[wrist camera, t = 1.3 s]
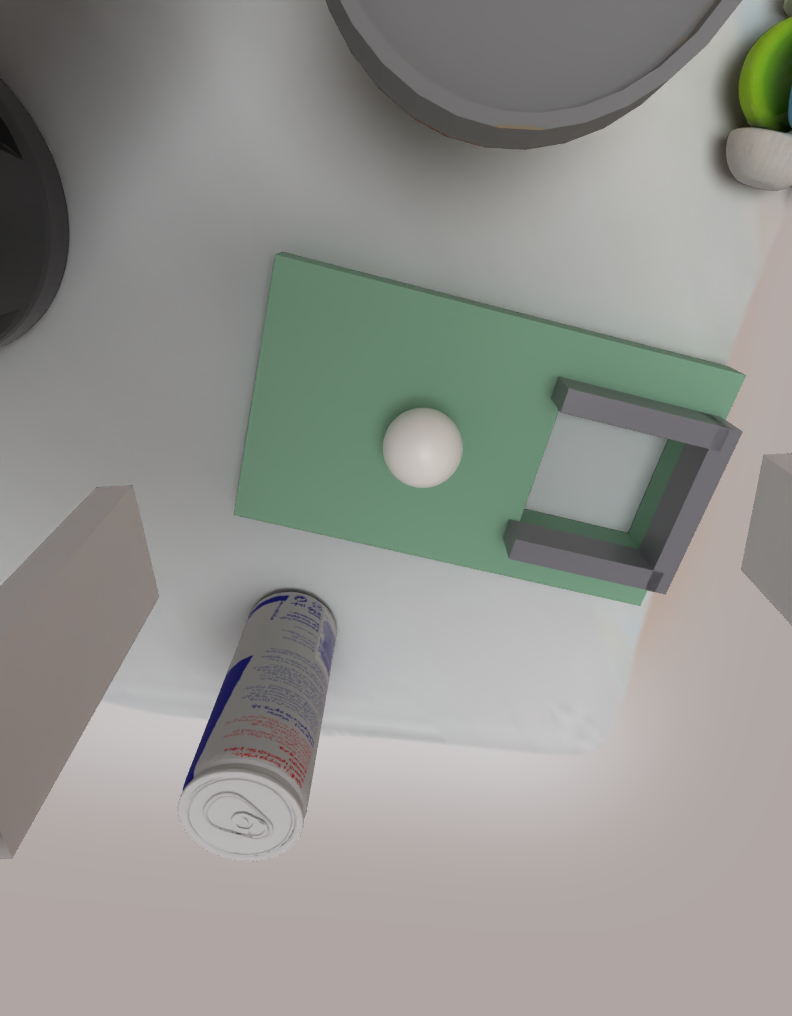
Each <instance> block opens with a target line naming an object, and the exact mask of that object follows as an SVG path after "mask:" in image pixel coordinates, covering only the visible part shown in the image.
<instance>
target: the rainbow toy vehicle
mask: <svg viewBox="0 0 792 1016" xmlns="http://www.w3.org/2000/svg"><path fill="white" fill-rule="evenodd" d="M783 7H784V10H785V13H786V14H787V15H788V16H789V18H787V19H785V20H783V21H780V22H779V23H777V24H776V25H774V26H773V27H771V28H770V29H769V30H768V31H767V32H765V33H764V34H763V35H762V36H761V37H760V38H759V39H758V40H757V41H756V43H755V44H754V45H753V46H752V48H751V49H750V51H749V53H748V54H747V56H746V59H745V61H744V64H743V67H742V70H741V74H740V79H739V100H740V105H741V108H742V111H743V113H744V115H745V117H746V119H747V123H748V124H749V125H750V126H751V127H752V128H738V129H735V130H733V131H731V132H730V134H729V136H728V140H727V147H726V158H727V163H728V166H729V169H730V171H731V173H732V174H733V176H734V177H735V178H736V179H737V180H738V181H739V182H741V183H743V184H745V185H748V186H751V187H755V188H758V189H764V190H770V191H778V190H782V189H785V188H788V187H790V186H792V0H785V1H784V6H783Z"/></svg>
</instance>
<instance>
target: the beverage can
mask: <svg viewBox="0 0 792 1016" xmlns="http://www.w3.org/2000/svg"><path fill="white" fill-rule="evenodd" d="M336 633H337V631H336V624H335V621H334V618H333V616H332V614H331V613H330V611H329V610H328V609H327V608H326V607H325V606H324V605H323V604H322V603H321V602H319V601H318V600H316V599H315V598H313V597H311V596H308V595H306V594H302V593H297V592H280V593H275V594H272V595H269V596H267V597H265V598H264V599H262V600H261V601H259V602H258V603H257V604H256V605H255V606H254V608H253V609H252V611H251V613H250V615H249V617H248V621H247V623H246V626H245V628H244V631H243V633H242V636H241V639H240V641H239V644H238V646H237V649H236V651H235V654H234V657H233V659H232V662H231V664H230V667H229V670H228V672H227V675H226V677H225V680H224V682H223V685H222V688H221V690H220V693H219V695H218V698H217V700H216V703H215V706H214V708H213V711H212V713H211V716H210V718H209V721H208V724H207V726H206V729H205V731H204V734H203V736H202V739H201V742H200V744H199V747H198V749H197V752H196V754H195V757H194V760H193V762H192V765H191V767H190V770H189V772H188V775H187V778H186V781H185V784H184V787H183V792H182V794H181V796H180V799H179V803H178V816H179V820H180V822H181V824H182V826H183V828H184V830H185V831H186V833H187V834H188V835H189V837H190V838H191V839H193V841H195V842H196V843H197V844H198V845H200V846H201V847H203V848H204V849H206V850H207V851H209V852H212V853H214V854H216V855H218V856H221V857H225V858H229V859H233V860H239V861H259V860H266V859H271V858H273V857H276V856H278V855H281V854H283V853H284V852H286V851H288V850H289V849H290V848H291V847H293V845H294V844H295V843H296V842H297V841H298V839H299V837H300V835H301V833H302V829H303V824H304V817H305V815H306V812H307V806H308V800H309V794H310V788H311V782H312V776H313V771H314V765H315V759H316V753H317V747H318V741H319V735H320V729H321V724H322V718H323V712H324V706H325V700H326V694H327V688H328V682H329V676H330V670H331V664H332V659H333V653H334V647H335V641H336Z"/></svg>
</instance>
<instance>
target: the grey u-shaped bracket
mask: <svg viewBox="0 0 792 1016" xmlns="http://www.w3.org/2000/svg"><path fill="white" fill-rule="evenodd" d="M551 400H552V401H553V403H554V404H555V405H556V407H557V408H558V410H559V411H560V412H561V413H565V414H569V415H573V416H577V417H581V418H585V419H589V420H593V421H597V422H601V423H606V424H610V425H614V426H618V427H622V428H626V429H630V430H634V431H638V432H642V433H646V434H650V435H654V436H658V437H662V438H667V439H671V440H675V441H679V442H683V443H685V445H684V447H683V449H682V452H681V454H680V456H679V458H678V461H677V463H676V465H675V467H674V470H673V472H672V474H671V477H670V479H669V481H668V483H667V486H666V488H665V490H664V492H663V495H662V497H661V499H660V502H659V504H658V506H657V508H656V511H655V513H654V515H653V517H652V520H651V522H650V524H649V527H648V529H647V531H646V533H645V536H644V538H643V540H642V542H641V545H640V547H639V549H637V548H633V547H629V546H624V545H620V544H616V543H611V542H607V541H603V540H598V539H594V538H590V537H585V536H581V535H577V534H572V533H568V532H564V531H559V530H555V529H551V528H546V527H542V526H538V525H533V524H529V523H525V522H521V521H516V520H512V519H509V521H508V524H507V527H506V530H505V533H504V536H503V540H504V544H505V547H506V551H507V554H508V558H509V559H511V560H516V561H520V562H525V563H529V564H533V565H538V566H542V567H547V568H551V569H555V570H560V571H564V572H569V573H573V574H578V575H582V576H586V577H591V578H595V579H600V580H604V581H608V582H613V583H617V584H622V585H626V586H631V587H635V588H639V589H644V590H648V591H653V592H658V593H662V594H666V592H667V590H668V588H669V586H670V584H671V582H672V580H673V578H674V575H675V573H676V571H677V569H678V567H679V565H680V563H681V561H682V559H683V557H684V555H685V552H686V550H687V548H688V546H689V544H690V542H691V540H692V538H693V536H694V533H695V531H696V529H697V527H698V525H699V523H700V521H701V519H702V516H703V514H704V512H705V510H706V508H707V506H708V504H709V502H710V500H711V497H712V495H713V493H714V491H715V489H716V487H717V485H718V483H719V480H720V478H721V476H722V474H723V472H724V470H725V468H726V466H727V464H728V461H729V459H730V457H731V455H732V453H733V451H734V449H735V447H736V445H737V443H738V440H739V438H740V436H741V434H742V431H741V430H739V429H738V428H736V427H735V426H733V425H732V424H731V423H729V422H728V421H726V420H725V419H723V418H722V417H719V416H715V415H711V414H707V413H703V412H699V411H695V410H691V409H687V408H683V407H679V406H675V405H671V404H667V403H663V402H659V401H655V400H651V399H647V398H643V397H639V396H635V395H631V394H627V393H623V392H619V391H615V390H611V389H607V388H603V387H599V386H595V385H591V384H587V383H583V382H579V381H575V380H571V379H567V378H563V377H559V376H558V379H557V382H556V385H555V388H554V391H553V394H552V397H551Z"/></svg>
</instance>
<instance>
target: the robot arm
mask: <svg viewBox="0 0 792 1016" xmlns="http://www.w3.org/2000/svg"><path fill="white" fill-rule="evenodd" d="M67 250H68V217H67V209H66V202H65V197H64V192H63V188H62V185H61V181H60V177H59V174H58V171H57V169H56V166H55V163H54V161H53V158H52V156H51V153H50V151H49V149H48V147H47V145H46V143H45V141H44V139H43V137H42V135H41V133H40V131H39V130H38V128H37V126H36V124H35V123H34V121H33V120H32V118H31V117H30V115H29V114H28V112H27V111H26V109H25V108H24V107H23V105H22V104H21V102H20V101H19V100H18V99H17V97H16V96H15V95H14V94H13V92H12V91H11V90H10V89H9V88H8V87H7V86H6V85H5V84H4V82H3V81H2V80H1V79H0V347H2V346H5V345H7V344H9V343H11V342H12V341H14V340H16V339H17V338H19V337H20V336H22V335H23V334H24V333H26V332H27V331H28V330H29V329H30V328H31V327H32V326H33V325H34V324H35V323H36V322H37V321H38V320H39V319H40V318H41V317H42V315H43V314H44V313H45V311H46V310H47V308H48V307H49V305H50V304H51V302H52V300H53V298H54V296H55V294H56V292H57V290H58V287H59V285H60V282H61V279H62V276H63V272H64V268H65V264H66V257H67ZM741 570H742V571H743V572H744V573H745V575H746V576H747V577H748V578H749V579H750V580H751V581H752V582H753V583H754V584H755V586H756V587H757V588H758V589H759V590H760V591H761V592H762V593H763V594H764V596H765V597H766V598H767V599H768V600H769V601H770V602H771V603H772V604H773V605H774V607H775V608H776V609H777V610H778V611H779V612H780V613H781V614H782V615H783V616H784V618H786V620H787V621H788V622H789V623H790V624H791V625H792V453H790V454H789V453H787V454H768V455H767V454H766V455H763V460H762V465H761V470H760V475H759V480H758V486H757V491H756V495H755V501H754V506H753V511H752V516H751V521H750V526H749V532H748V536H747V541H746V547H745V552H744V557H743V562H742V567H741ZM158 598H159V594H158V589H157V585H156V581H155V577H154V572H153V568H152V564H151V560H150V555H149V551H148V547H147V543H146V539H145V534H144V530H143V526H142V522H141V517H140V513H139V509H138V505H137V500H136V496H135V492H134V488H133V485H130V486H110V487H96V488H95V489H94V490H93V491H92V492H91V494H90V495H89V496H88V497H87V498H86V499H85V500H84V501H83V502H82V503H81V504H80V505H79V506H78V507H77V508H76V509H75V510H74V511H73V512H72V513H71V514H70V515H69V516H68V517H67V518H66V519H65V520H64V521H63V522H62V523H61V524H60V525H59V527H58V528H57V529H56V530H55V531H54V532H53V533H52V534H51V535H50V536H49V537H48V538H47V539H46V540H45V541H44V542H43V543H42V544H41V545H40V546H39V547H38V548H37V549H36V550H35V551H34V552H33V553H32V554H31V555H30V556H29V557H28V558H27V559H26V561H25V562H24V563H23V564H22V565H21V566H20V567H19V568H18V569H17V570H16V571H15V572H14V573H13V574H12V575H11V576H10V577H9V578H8V579H7V580H6V581H5V582H4V583H3V584H2V585H1V586H0V859H11V858H13V856H14V854H15V853H16V851H17V849H18V847H19V846H20V844H21V842H22V840H23V838H24V837H25V835H26V833H27V831H28V829H29V828H30V826H31V824H32V822H33V821H34V819H35V817H36V815H37V813H38V812H39V810H40V808H41V806H42V804H43V803H44V801H45V799H46V797H47V796H48V794H49V792H50V790H51V788H52V787H53V785H54V783H55V781H56V780H57V778H58V776H59V774H60V772H61V771H62V769H63V767H64V765H65V763H66V762H67V760H68V758H69V756H70V755H71V753H72V751H73V749H74V747H75V746H76V744H77V742H78V740H79V739H80V737H81V735H82V733H83V731H84V730H85V728H86V726H87V724H88V722H89V721H90V719H91V717H92V715H93V714H94V712H95V710H96V708H97V706H98V705H99V703H100V701H101V699H102V698H103V696H104V694H105V692H106V690H107V689H108V687H109V685H110V683H111V682H112V680H113V678H114V676H115V674H116V673H117V671H118V669H119V667H120V666H121V664H122V662H123V660H124V658H125V657H126V655H127V653H128V651H129V650H130V648H131V646H132V644H133V642H134V641H135V639H136V637H137V635H138V633H139V632H140V630H141V628H142V626H143V625H144V623H145V621H146V619H147V617H148V616H149V614H150V612H151V610H152V609H153V607H154V605H155V603H156V601H157V600H158Z"/></svg>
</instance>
